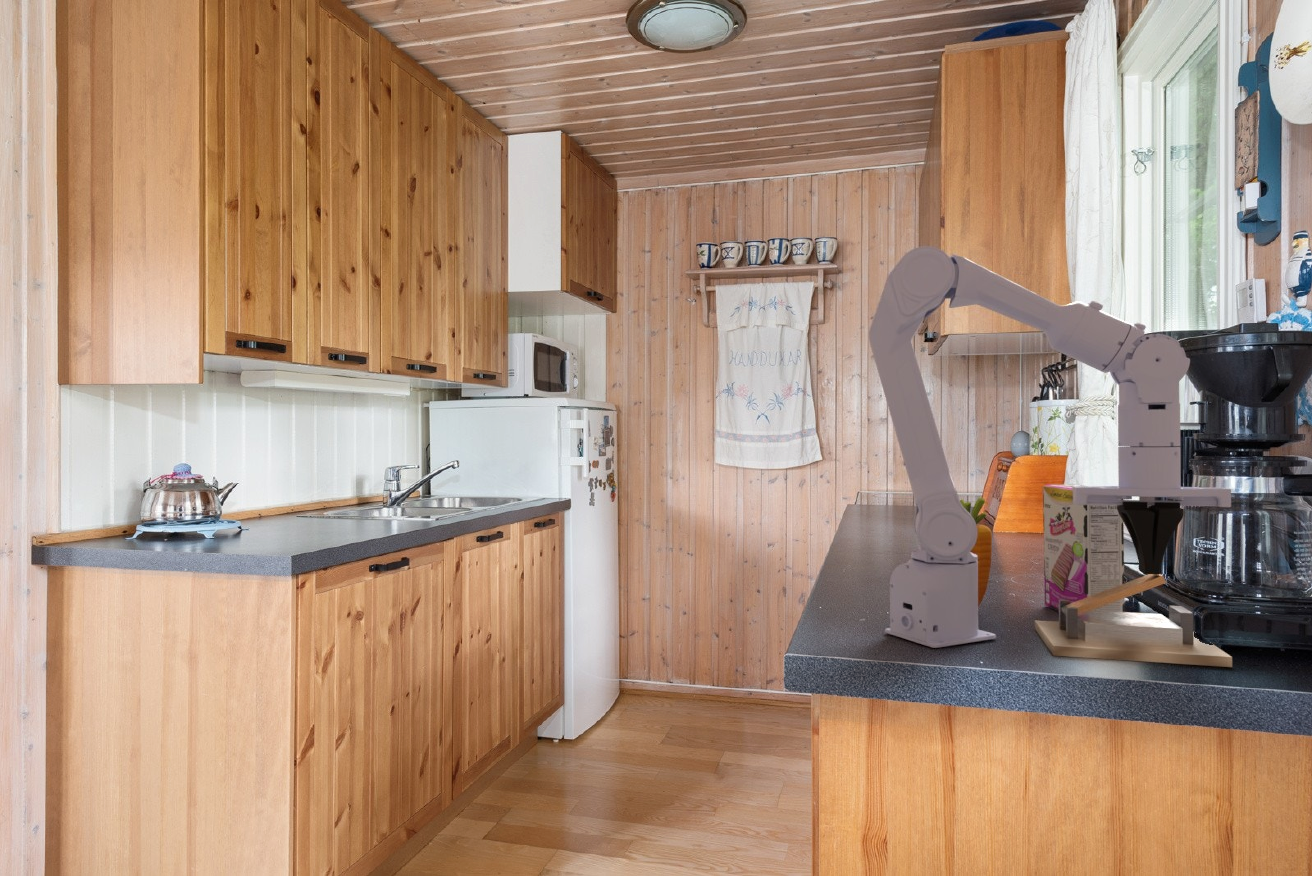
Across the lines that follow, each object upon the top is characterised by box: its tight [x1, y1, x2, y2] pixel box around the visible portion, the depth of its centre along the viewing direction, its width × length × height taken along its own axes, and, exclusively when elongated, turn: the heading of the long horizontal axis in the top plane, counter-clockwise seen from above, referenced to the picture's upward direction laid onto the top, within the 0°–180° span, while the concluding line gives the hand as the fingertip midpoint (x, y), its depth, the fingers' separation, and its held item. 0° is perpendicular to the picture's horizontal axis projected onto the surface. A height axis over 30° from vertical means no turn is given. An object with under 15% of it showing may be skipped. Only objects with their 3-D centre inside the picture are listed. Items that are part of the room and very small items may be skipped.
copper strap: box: [1061, 573, 1167, 615], centre depth 87 cm, size 10×2×1 cm, turn 73°
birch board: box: [1034, 619, 1233, 668], centre depth 86 cm, size 16×12×1 cm
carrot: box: [959, 497, 993, 608], centre depth 104 cm, size 5×5×15 cm
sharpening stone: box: [1058, 599, 1195, 648], centre depth 86 cm, size 12×7×3 cm, turn 73°
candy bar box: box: [1042, 484, 1126, 612], centre depth 101 cm, size 11×5×16 cm, turn 179°
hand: (1149, 572), depth 86 cm, fingers closed
